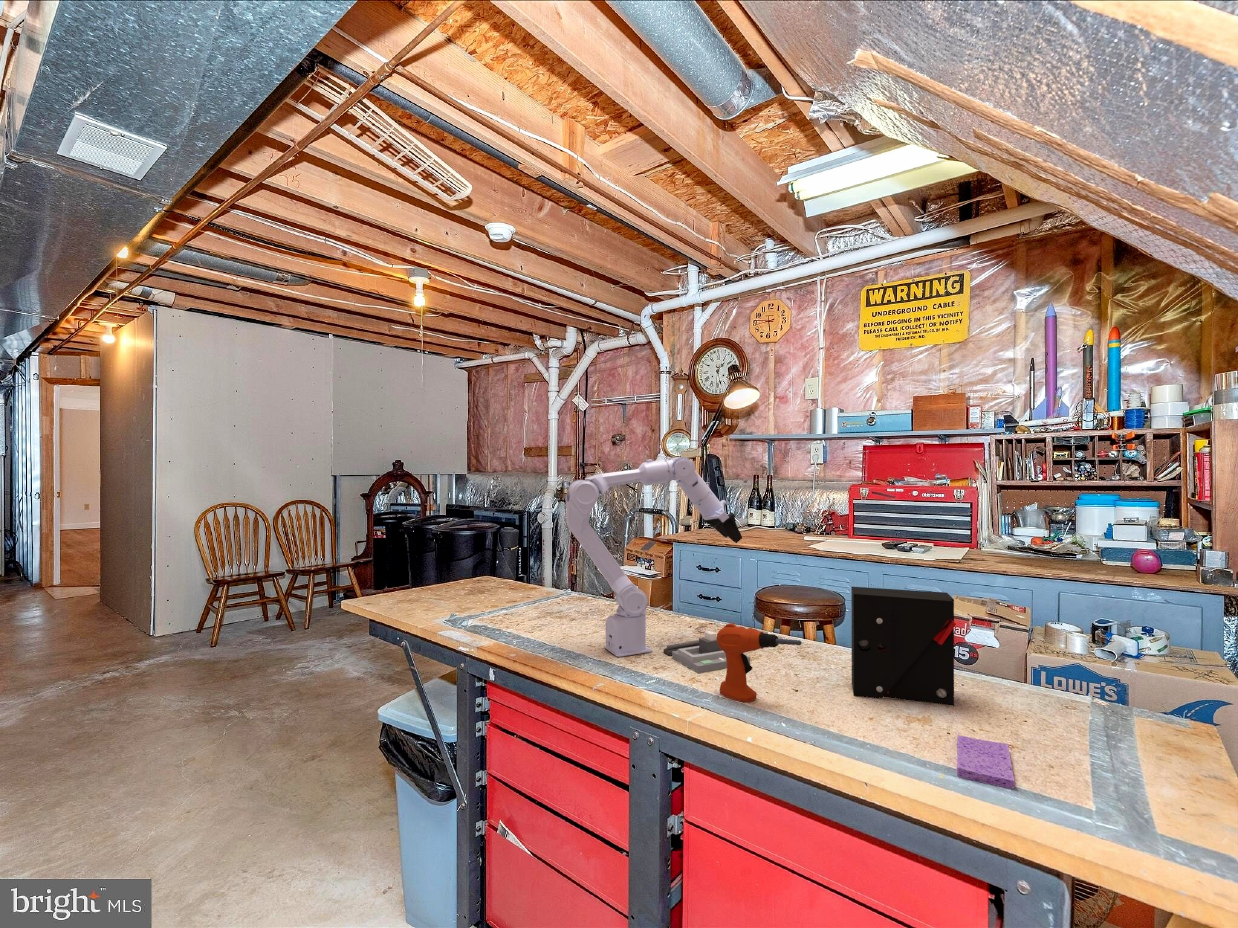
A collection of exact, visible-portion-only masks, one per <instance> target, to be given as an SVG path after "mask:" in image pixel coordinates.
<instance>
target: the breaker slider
mask: <svg viewBox="0 0 1238 928" xmlns="http://www.w3.org/2000/svg"><path fill="white" fill-rule="evenodd" d="M698 640H699V653H700V654H704V653H710V652H716V651H722V649H721V648H720V647H719V645H718V643H717V633H716V632H715V631H714V632H713V631H712V630H708V631H707V630H706V631H704V636H703V637H699V639H698Z"/></svg>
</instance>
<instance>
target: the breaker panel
mask: <svg viewBox="0 0 1238 928" xmlns="http://www.w3.org/2000/svg"><path fill="white" fill-rule="evenodd" d="M745 655H746V654H745ZM746 656H747V659H748V662H749V664H750V665H751V657H750V656H749V655H746ZM671 658H672V659H673V660H675V661H676V662H678V663H680V664H682V665H683V666H685V667H686V668H688V669H690V670H692V671H694V672H695V673H697V674H702V673H708V672H712V671H718V670H724V669H727V661H726V654H725V652H724V651H723V650H722V651H716V652H710V653H704V654H700V653H699V646H695V647H688V648H682V649H678V651H672V655H671Z"/></svg>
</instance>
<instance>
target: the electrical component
mask: <svg viewBox="0 0 1238 928" xmlns="http://www.w3.org/2000/svg"><path fill="white" fill-rule="evenodd" d="M850 597H851V598H850V599H851V602H850V603H851V687H852V688H851V689H852V694H853V695H852V696H853V697H859V698H867V699H868V698H870V699H879V700H880V699H883V698H886V699H893V700H895V699H896V700H902V701H910V702H917V703H918V702H919V703H925V704H926V703H927V704H933V705H935V704H936V705H943V706H951V707H952V706H953V707H955V627H956V625H957V624H956V622H955V599H954V598H953V596H951V595H950V594H949V593H948V592H944V591H943V592H942V591H941V592H940V591H929V590H928V591H927V590H911V589H899V588H898V589H896V588H880V587H864V586H851V596H850Z"/></svg>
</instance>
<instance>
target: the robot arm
mask: <svg viewBox="0 0 1238 928" xmlns="http://www.w3.org/2000/svg"><path fill="white" fill-rule="evenodd" d="M672 481H675V482H676V483H677V484H678V486H679V487H680V488H681V490H682V493H684V495H686V497H687V498H688V499H689V501H690V502H691V504H692V505H693V506H694V508H696V510H697V511H698V513H699V514H700V515H701V516H702V518H703V521H702V522H703V523H705V524H708V525H709V526H711V527H712V528H714V529H715V531H717V532H718V533H719V534H720V535H722V537H724V538H729V539H730V540H731V541H733V542H734V543H735V544H737V543H739V542H740V541H741V540H742V539H743V535H742V533H741V532H740V530H739V528H738V525H737V522H736V516H735V514H734V512H729V514H727V513H726V511H725V505H726V504H727V501H726V500H724V499H722V500H721V501H720V500H719V498H718V497H717V496H716V494H715V493H714V492H713V491H712V490H711V488H710V487H709V485H708V484H707V483H706V481H704V479H703V478H702V477H701V476H700V474H699V473H698V471H696V464H695V462H694V461H693V460H691V459H690V458H689V457H686V456H685V457H684V456H678V457H677V456H676V457H673V456H672V457H671V456H667V457H665V458H664V459H659V460H653V459H652V458H651V459H645V462H642V463H640V465H639V467H638V468H637V469H636V468H635V469H629V470H627V469H626V470H622V471H621V470H620V471H613V472H606V473H605V472H604V473H599V474H594V475H592V476H587V477H585V478H584V479H576V480H574V481H573V482H571V483H570V484H569V486H568V488H567V491H566V495H565V498H564V499H565V506H566V507H565V509H566V511H565V512H566V525H567V527H568V529H569V531H570V532H571V533H572V535H573V536H574V538H575V539H576V540H577V541H578V543H579V544H580V546H581V547H582V548H583V550H584V551H585V553H586V554H587V555H588V557H589V558H590V559H591V561H592V562H593V564H594V565H595V567H596V568H597V569H598V571H599V572H600V574H601V575H602V576H603V578H604V579H605V580H606V582H607V583H608V585H609V587H610V588H611V590H612V591H613V592H614V597H615V601H616V603H617V605H618V606H617V609H616V610H615V614H613V615H610V616H608V617H607V618H606V621H605V645H604V649H606V650H607V651H609V652H610V653H611V654H612V655H614V656H616V657H617V658H620V657H626V656H631V655H639V654H646V653H651V652H653V648H651V647H649V646H647V638H646V637H647V634H646V633H647V632H646V631H647V630H646V625H647V623H646V622H647V621H646V617H647V616H646V615H647V612H646V611H647V608H648V605H649V599H648V597H647V594H646V593H645V592H644V591H643V590H641V589H640V588H639V587H638V586H637V585H636V584H634V583H633V582H632V581H631V580H630V578H629V576H627V575H626V573H625V571H624V570H623V569H622V568H621V566H620V565H619V564H618V562H617V561H616V559H615V557H614V556H613V555H612V554H611V553H610V551H609V550H608V548H607V547H606V545H605V544H604V543H603V540H601V539H600V536H599V535H598V534H597V532H596V531H595V530H594V528H593V527H592V525H590V517H591V514H592V510H593V508H594V507H595V505H596V503H597V502H598V500H599V495H604V494H605V493H606V492H607V491H608V490H609V489H610V488H612V487H618V486H623V485H628V484H632V483H638V482H640V483H642V484H643V485H644V486H646V487H647V486H652V485H659V484H665V483H670V482H672Z"/></svg>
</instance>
